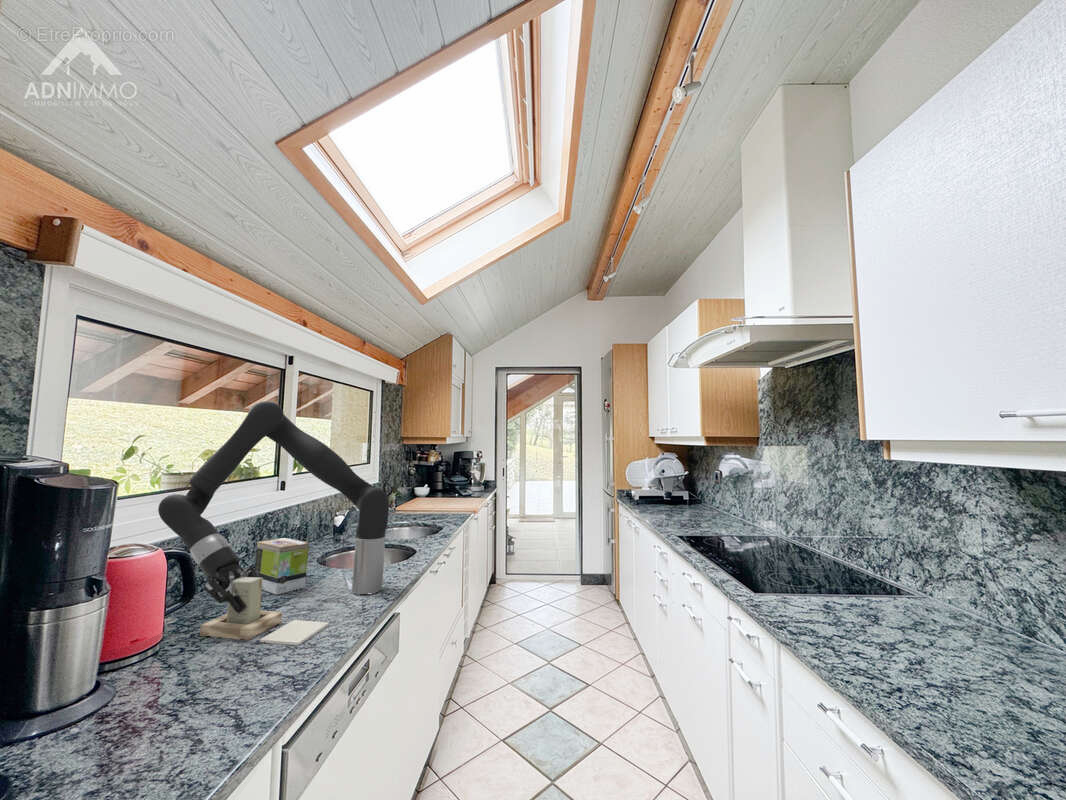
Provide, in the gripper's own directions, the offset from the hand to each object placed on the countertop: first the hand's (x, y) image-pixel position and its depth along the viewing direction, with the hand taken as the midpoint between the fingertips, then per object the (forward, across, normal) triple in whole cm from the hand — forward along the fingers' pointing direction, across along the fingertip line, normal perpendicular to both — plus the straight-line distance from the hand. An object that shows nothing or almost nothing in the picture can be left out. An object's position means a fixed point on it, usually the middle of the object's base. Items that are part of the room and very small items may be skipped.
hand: (250, 606), depth 110 cm
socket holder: (+3, 0, +5) cm, 6 cm away
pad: (+13, 0, -5) cm, 14 cm away
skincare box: (+3, 0, +5) cm, 6 cm away
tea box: (-7, +31, +15) cm, 35 cm away
